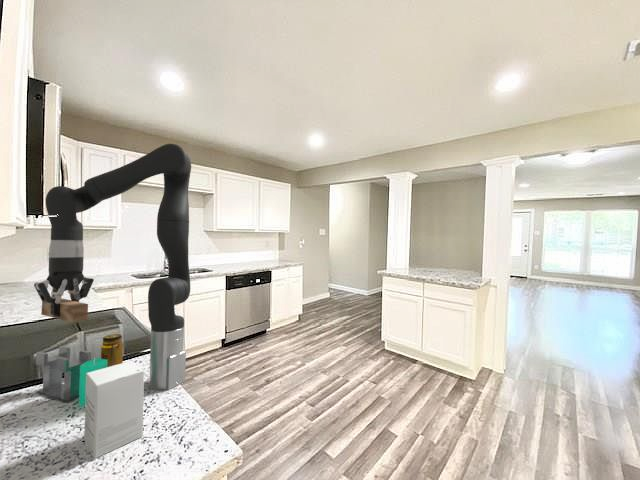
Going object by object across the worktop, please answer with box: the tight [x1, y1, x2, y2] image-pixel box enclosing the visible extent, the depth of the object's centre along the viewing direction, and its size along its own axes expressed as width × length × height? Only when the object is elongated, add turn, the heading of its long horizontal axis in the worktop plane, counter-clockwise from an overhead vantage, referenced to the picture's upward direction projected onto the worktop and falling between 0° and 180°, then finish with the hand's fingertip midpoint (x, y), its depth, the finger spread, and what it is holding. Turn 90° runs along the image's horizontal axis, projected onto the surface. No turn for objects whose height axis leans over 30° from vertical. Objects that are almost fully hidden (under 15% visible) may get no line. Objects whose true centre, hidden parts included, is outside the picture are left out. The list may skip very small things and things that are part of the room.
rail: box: [40, 297, 89, 323], centre depth 81 cm, size 15×4×4 cm, turn 69°
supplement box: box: [83, 360, 145, 459], centre depth 62 cm, size 9×9×15 cm
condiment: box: [100, 333, 124, 367], centre depth 96 cm, size 7×8×12 cm
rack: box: [35, 345, 92, 404], centre depth 81 cm, size 14×6×12 cm, turn 69°
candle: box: [78, 356, 107, 408], centre depth 77 cm, size 6×6×12 cm
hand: (65, 314), depth 81 cm, fingers closed on rail, 3 cm apart
